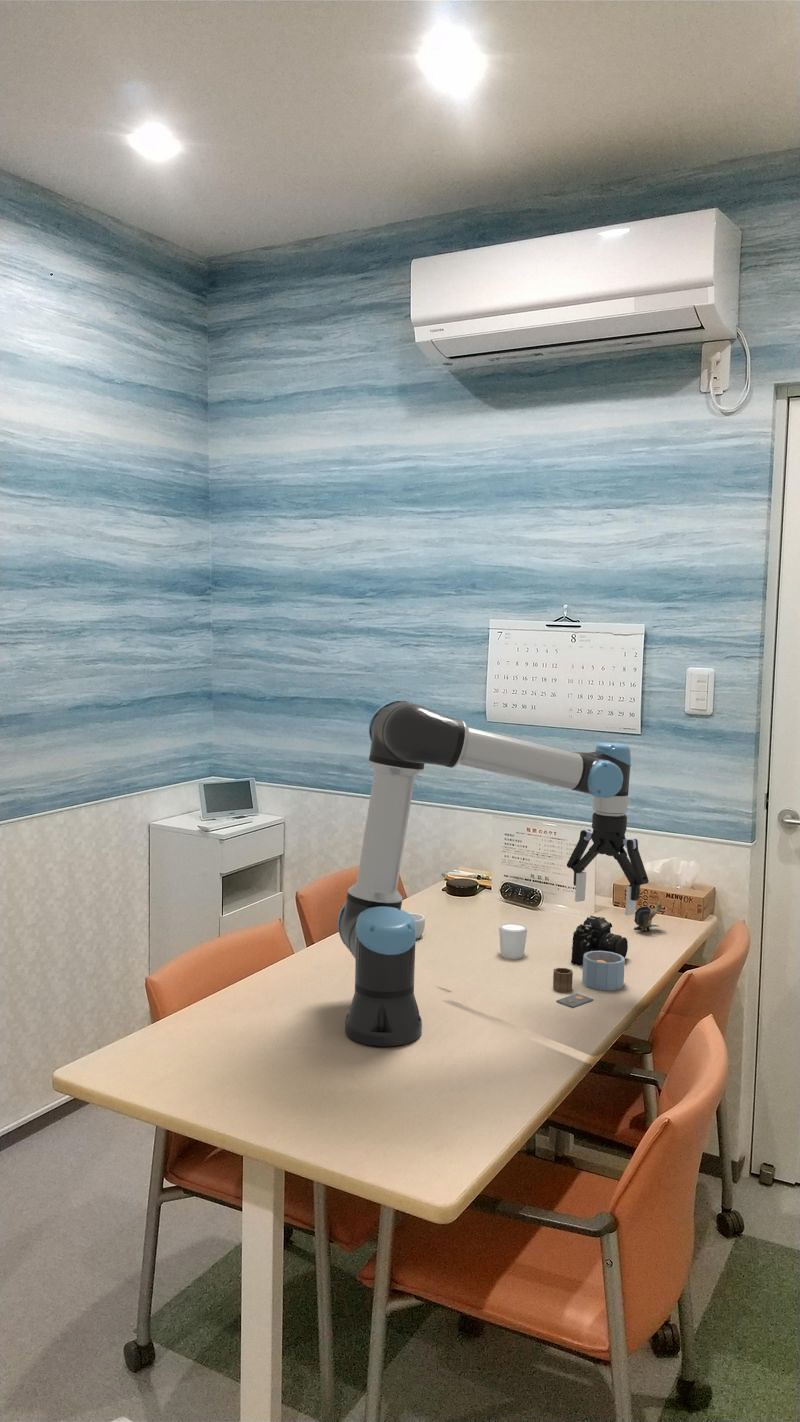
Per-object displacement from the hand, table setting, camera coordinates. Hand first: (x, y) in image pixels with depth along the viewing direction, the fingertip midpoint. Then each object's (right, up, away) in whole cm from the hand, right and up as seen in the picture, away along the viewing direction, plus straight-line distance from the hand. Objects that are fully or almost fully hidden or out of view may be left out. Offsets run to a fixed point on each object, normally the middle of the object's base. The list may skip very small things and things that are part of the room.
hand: (604, 907), depth 220 cm
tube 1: (-10, -17, -3) cm, 20 cm away
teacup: (-44, -14, +31) cm, 56 cm away
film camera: (+3, -17, +18) cm, 25 cm away
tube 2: (0, -17, +1) cm, 17 cm away
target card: (-8, -18, -10) cm, 22 cm away
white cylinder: (-18, -16, +20) cm, 31 cm away
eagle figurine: (+19, -15, +38) cm, 45 cm away
